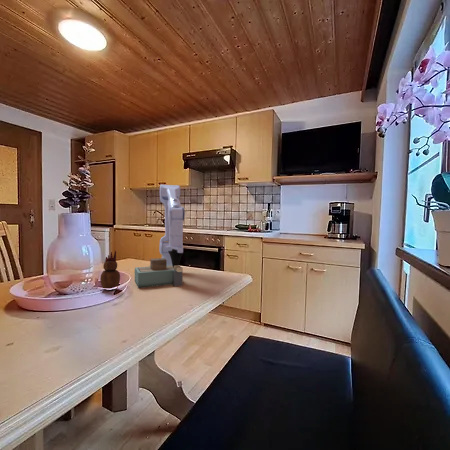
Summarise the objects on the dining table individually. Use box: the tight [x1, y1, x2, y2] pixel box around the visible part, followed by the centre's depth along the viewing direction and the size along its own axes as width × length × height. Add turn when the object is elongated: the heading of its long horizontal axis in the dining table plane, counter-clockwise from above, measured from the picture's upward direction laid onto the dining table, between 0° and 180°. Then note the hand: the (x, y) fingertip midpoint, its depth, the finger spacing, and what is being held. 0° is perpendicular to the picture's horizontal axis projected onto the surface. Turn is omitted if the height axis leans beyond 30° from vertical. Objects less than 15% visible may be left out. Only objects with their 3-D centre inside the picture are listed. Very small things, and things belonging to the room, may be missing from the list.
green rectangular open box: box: [134, 265, 183, 289], centre depth 110 cm, size 14×18×6 cm
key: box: [174, 264, 184, 273], centre depth 107 cm, size 6×2×2 cm, turn 26°
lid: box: [138, 257, 174, 272], centre depth 111 cm, size 8×15×5 cm, turn 116°
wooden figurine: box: [99, 250, 121, 289], centre depth 99 cm, size 7×6×15 cm
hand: (175, 267), depth 111 cm, fingers closed
